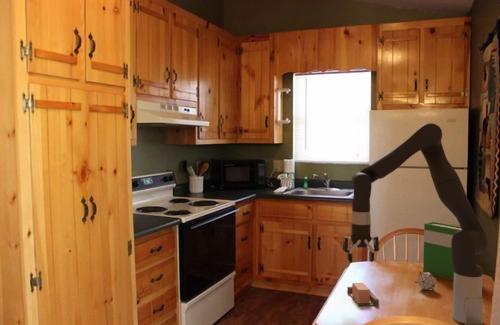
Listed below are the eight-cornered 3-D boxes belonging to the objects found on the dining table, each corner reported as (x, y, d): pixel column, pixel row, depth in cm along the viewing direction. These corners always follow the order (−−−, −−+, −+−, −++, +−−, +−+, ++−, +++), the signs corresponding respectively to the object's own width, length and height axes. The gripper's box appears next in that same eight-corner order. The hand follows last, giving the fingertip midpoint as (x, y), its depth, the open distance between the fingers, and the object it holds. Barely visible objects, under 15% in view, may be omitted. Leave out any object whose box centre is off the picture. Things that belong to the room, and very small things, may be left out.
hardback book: (466, 278, 200) (468, 227, 198) (458, 281, 195) (460, 230, 194) (431, 269, 214) (432, 221, 212) (423, 271, 210) (424, 223, 208)
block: (362, 294, 179) (362, 282, 179) (369, 301, 171) (369, 289, 171) (352, 294, 179) (352, 283, 179) (358, 302, 171) (358, 289, 171)
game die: (430, 299, 184) (441, 286, 178) (411, 291, 186) (421, 277, 179) (431, 283, 191) (441, 270, 185) (412, 276, 192) (422, 262, 186)
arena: (378, 305, 169) (378, 299, 168) (358, 306, 168) (358, 300, 168) (365, 291, 183) (365, 286, 183) (347, 292, 183) (347, 286, 183)
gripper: (374, 220, 177) (374, 258, 178) (341, 220, 176) (340, 259, 177) (381, 223, 170) (381, 263, 171) (346, 224, 168) (346, 265, 169)
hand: (360, 261), depth 174 cm, fingers open, 8 cm apart
